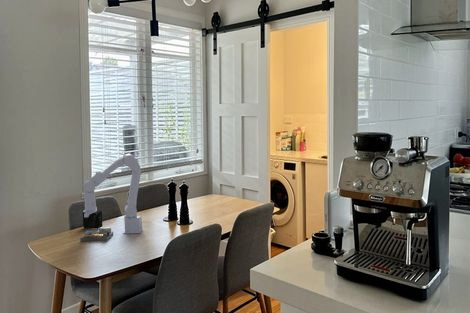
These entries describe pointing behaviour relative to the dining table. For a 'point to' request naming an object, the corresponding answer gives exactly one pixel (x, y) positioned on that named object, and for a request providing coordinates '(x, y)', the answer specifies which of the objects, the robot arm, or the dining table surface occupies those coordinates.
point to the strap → (95, 235)
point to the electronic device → (97, 221)
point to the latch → (87, 232)
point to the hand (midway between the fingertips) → (91, 226)
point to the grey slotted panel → (94, 239)
